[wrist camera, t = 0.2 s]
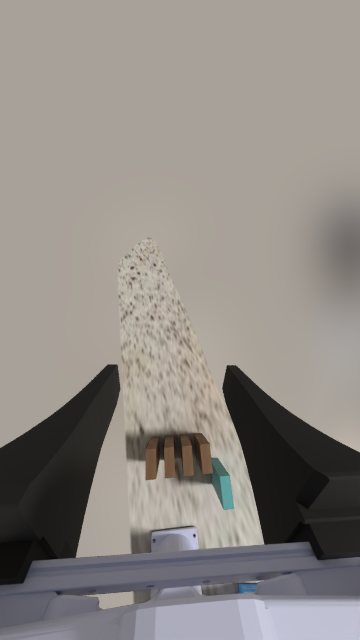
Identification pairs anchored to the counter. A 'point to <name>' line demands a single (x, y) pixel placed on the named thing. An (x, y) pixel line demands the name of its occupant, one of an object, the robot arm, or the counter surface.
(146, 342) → the counter surface
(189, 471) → the domino
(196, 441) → the domino
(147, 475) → the domino
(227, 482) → the domino
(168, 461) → the domino
